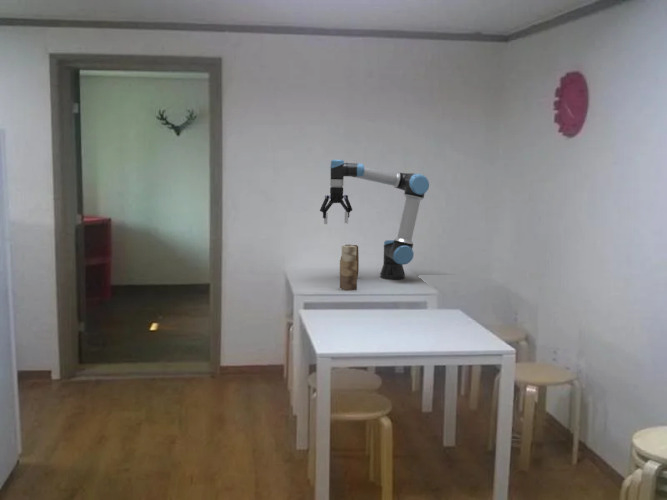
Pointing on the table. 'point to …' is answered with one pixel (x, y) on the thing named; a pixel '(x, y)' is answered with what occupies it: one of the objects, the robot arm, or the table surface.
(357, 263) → the block
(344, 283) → the walnut block
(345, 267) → the oak block
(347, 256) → the maple block
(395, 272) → the robot arm
